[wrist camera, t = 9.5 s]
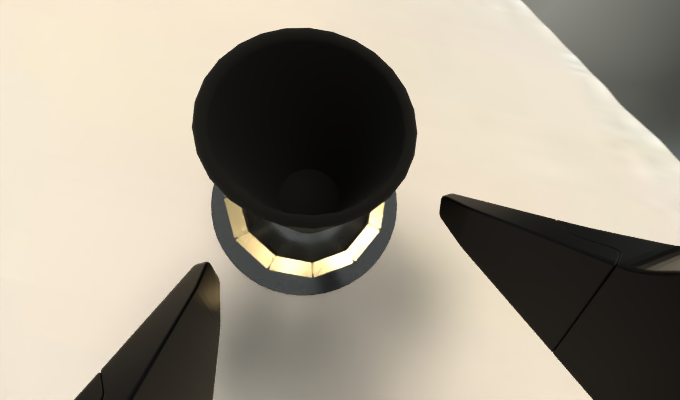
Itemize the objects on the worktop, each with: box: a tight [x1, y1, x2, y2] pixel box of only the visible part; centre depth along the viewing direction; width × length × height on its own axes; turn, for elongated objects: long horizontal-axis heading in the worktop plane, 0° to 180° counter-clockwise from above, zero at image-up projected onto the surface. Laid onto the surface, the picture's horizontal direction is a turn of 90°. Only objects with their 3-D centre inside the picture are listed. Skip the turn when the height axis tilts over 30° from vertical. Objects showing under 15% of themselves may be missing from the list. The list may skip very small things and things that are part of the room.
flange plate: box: [211, 184, 397, 295], centre depth 20 cm, size 15×15×2 cm
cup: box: [192, 28, 417, 233], centre depth 14 cm, size 8×8×12 cm
